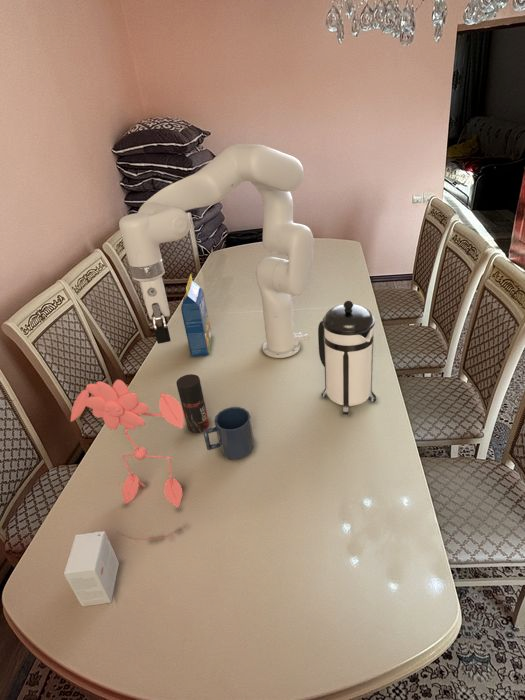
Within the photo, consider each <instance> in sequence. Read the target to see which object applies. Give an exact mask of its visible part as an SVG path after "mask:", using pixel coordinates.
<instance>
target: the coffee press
mask: <svg viewBox="0 0 525 700" xmlns="http://www.w3.org/2000/svg"><path fill="white" fill-rule="evenodd" d="M375 323H376V319H375V316H374V315H373V314H372V312H371V311H370V309H368V308H367V307H365V306H362V305H360V304H355V303H353V302H352V301H351V300H346V301H344V303H343V304H339V305H336V306H333V307H331V308H329V310H328V311H327V312H326V313H325V315H324V316H323V318H322V320H321V321H320V322H319V324H318V328H317V338H318V355H319V360H320V363H321V365H322V366H323V368H324V384H325V386H324V387H325V388H324V389H323V390H322V391H321V397H322V398H323V399H326V398H329V400H331V401H332V402H333V403H335V404H337V405H340V406H343V407H342V413H343V414H342V415H347V416H348V415H349V413H350V407H354V406H359V405H361V404H364V403H365V402H366V401H367V400H369V401H370V402H372V403H375V402H376V401H377V395H376V394H375V393H374V391H373V377H372V371H373V367H374V366H373V364H374V363H373V362H374V346H373V343H374V335H375V334H374V333H375V332H374V326H375V325H376V324H375ZM325 392H326V394H325ZM371 396H372V397H371Z"/></svg>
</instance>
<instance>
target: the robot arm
mask: <svg viewBox="0 0 525 700" xmlns="http://www.w3.org/2000/svg"><path fill="white" fill-rule="evenodd" d="M304 171H305V170H304V167H303V165H302V163H301V162H300V160H299V159H298V158H296V157H294V156H292V155H290V154H287V153H284V152H282V151H280V150H277V149H274V148H271V147H269V146H267V145H263V144H255V143H254V144H253V143H251V144H250V143H248V144H247V143H236V144H235V143H234V144H232V145H230V146H228V147H226V148H225V149H224V150H223V151H221V153H219V154H218V155H216V156H215V157H214V158H213V159H212V160H211V161H209V162H208V163H207V164H205V165H203V167H202V168H200V169H199V170H198V171H197V172H195V173H193V174H190V175H188V176H185V177H183V178H182V179H180V180H177V181H175V182H173V183H171V184H169V185H167V186H165V187H163V188H161V189H160V190H159V191H157V192H156V193H155V194H153V195H152V196H151V197H150V198H148V199H147V200H146V201H145V202H144V203H142V204H141V206H140V207H139V209H138V211H137V212H135V213H130V214H127V215H125V216H123V217H121V218H120V220H119V222H118V227H119V231H120V236H121V239H122V242H123V243H122V244H123V246H124V251H125V254H126V259H127V262H128V266H129V270H130V273H131V278H132V279H133V280H134V281H137V282H138V284H139V287H140V291H141V295H142V298H143V302H144V305H145V307H146V311H147V314H148V317H149V319H150V320H152V322H153V323H152V324H153V331H154V334H155V335H154V336H155V340H156V343H157V344H158V345H160V344H166V343H170V342H171V340H172V339H171V336H170V330H169V327H168V325H167V324H168V318H169V317H170V316H171V311H170V307H169V302H168V298H167V293H166V292H167V291H166V289H165V284H164V281H163V280H164V279H163V277H162V276H164V275H165V273H166V271H165V270H166V269H165V267H164V263H163V258H162V253H161V248H160V244H165V243H172V242H176V241H180V240H181V239H183V238H185V237H186V236H187V235H188V234H189V232H190V230H191V227H192V224H191V223H192V221H191V217H190V216H189V215H188V213H187V211H189V210H194V209H199V208H205V207H209V206H212V205H216V204H218V203H220V202H221V201H222V200H223V199H225V197H227V196H228V195H229V194H230V193H231V192H232V191H234V190H235V189H236V188H237V187H239V186H240V185H241V184H242V183H243V182H250V183H251V184H252V185H253V186H254V188H256V190H257V191H258V193H259V195H260V196H261V198H262V202H263V203H262V205H263V219H262V222H263V223H262V246H263V248H264V249H265V250H266V251H268V252H269V253H273V254H275V255H278V256H279V255H280V256H284V257H287V259H286V258H281V257H276V256H267V257H264V258H262V259H261V260H259V262H258V263H257V265H256V268H255V279H256V284H257V286H258V289H259V292H260V297H261V304H262V312H263V313H262V315H263V322H264V331H265V341H264V342H263V344H262V351H263V353H264V354H265V355H266V356H268V357H269V358H274V359H284V358H289V357H292V356H294V355H296V354H297V353H298V352H299V351H300V349H301V343H302V341H307V340H310V335H309V333H305V334H304V333H303V331H299V332H295V319H294V307H293V306H294V303H293V297H292V296H296V297H297V296H298V297H299V296H302V295H304V294H305V293H306V292H307V290H308V289H309V286H310V285H311V283H310V282H311V280H312V279H311V278H312V271H313V263H314V262H313V261H314V251H315V239H314V234H313V231H312V230H311V228H310V227H308V226H307V225H304V224H302V223H296V222H294V200H293V196H292V193H291V192H294V191H296V190H297V189H298V188H300V186H301V185H302V184H303V180H304V177H305V175H304Z"/></svg>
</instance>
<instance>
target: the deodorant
mask: <svg viewBox="0 0 525 700" xmlns="http://www.w3.org/2000/svg"><path fill="white" fill-rule="evenodd" d="M176 388H177V392H178V396H179V400H180V405H181V407H182V410H183V413H184V420H185V424H186V428H187V431H188V432H189V433H191V434H201V433H203V431H204V430H206V429H209V427H210V420H209V417H208V412H207V406H206V402H205V397H204V393H203V387H202V382H201V378H200V377H199V375H197V374H192V373H189V374H184V375H182V376H180V377H179V378H178V379H177V380H176Z"/></svg>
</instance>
